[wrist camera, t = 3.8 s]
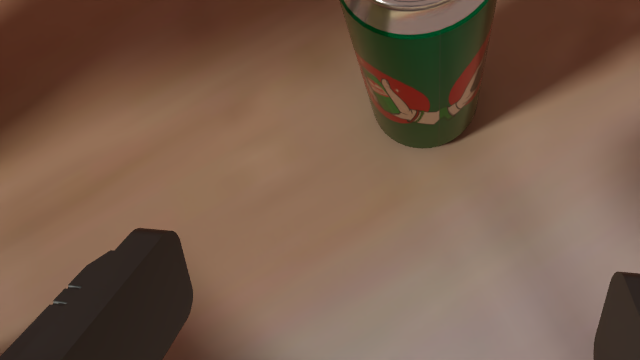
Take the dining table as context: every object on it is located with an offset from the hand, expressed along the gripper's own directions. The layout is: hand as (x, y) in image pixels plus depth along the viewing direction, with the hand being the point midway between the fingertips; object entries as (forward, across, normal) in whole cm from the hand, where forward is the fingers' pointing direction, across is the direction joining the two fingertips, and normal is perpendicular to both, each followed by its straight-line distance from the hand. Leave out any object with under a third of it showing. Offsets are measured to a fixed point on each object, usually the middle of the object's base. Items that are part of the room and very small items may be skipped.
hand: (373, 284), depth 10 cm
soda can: (+18, 0, +4) cm, 18 cm away
